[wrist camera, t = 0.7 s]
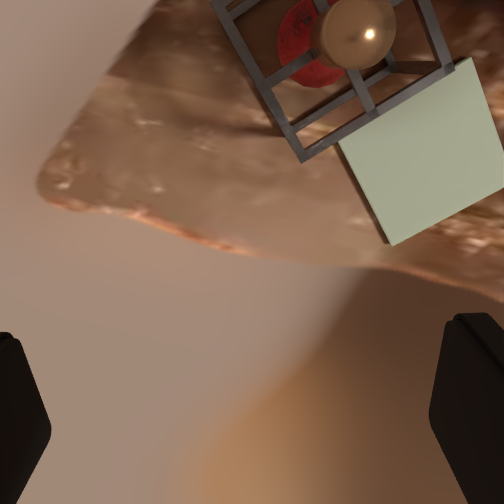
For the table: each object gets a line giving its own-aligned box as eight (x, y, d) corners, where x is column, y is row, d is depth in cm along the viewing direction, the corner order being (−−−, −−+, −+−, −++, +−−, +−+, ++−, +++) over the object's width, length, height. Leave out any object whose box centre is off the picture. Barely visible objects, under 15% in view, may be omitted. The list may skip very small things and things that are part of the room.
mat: (467, 57, 33) (471, 57, 32) (509, 180, 37) (513, 182, 37) (335, 137, 35) (336, 138, 35) (390, 244, 40) (392, 246, 39)
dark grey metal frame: (339, -67, 29) (426, -183, 15) (395, 68, 33) (506, 71, 19) (218, 20, 31) (201, -14, 17) (285, 137, 35) (314, 185, 21)
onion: (258, 37, 32) (264, 30, 25) (319, -16, 30) (343, -41, 23) (301, 99, 34) (317, 109, 27) (359, 52, 32) (394, 49, 25)
